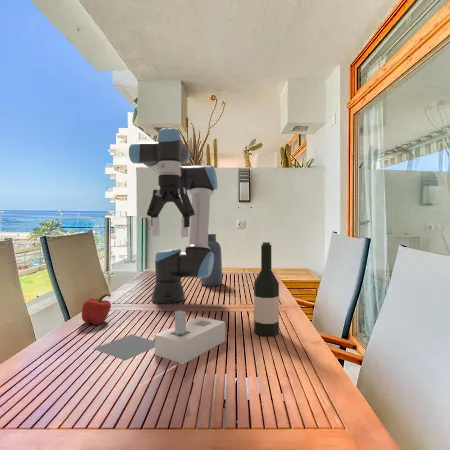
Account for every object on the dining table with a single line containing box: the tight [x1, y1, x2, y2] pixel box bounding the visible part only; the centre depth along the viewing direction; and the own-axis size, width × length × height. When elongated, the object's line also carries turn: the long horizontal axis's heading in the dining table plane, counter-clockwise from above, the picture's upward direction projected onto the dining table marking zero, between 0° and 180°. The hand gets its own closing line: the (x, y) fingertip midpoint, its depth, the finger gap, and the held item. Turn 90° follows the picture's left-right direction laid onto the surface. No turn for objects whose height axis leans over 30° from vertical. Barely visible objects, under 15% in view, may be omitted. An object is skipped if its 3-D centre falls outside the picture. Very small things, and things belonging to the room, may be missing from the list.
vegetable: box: [81, 293, 112, 326], centre depth 122 cm, size 11×10×10 cm
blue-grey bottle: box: [200, 233, 223, 287], centre depth 190 cm, size 12×12×28 cm
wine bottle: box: [253, 241, 280, 338], centre depth 111 cm, size 8×8×30 cm
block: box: [154, 316, 226, 366], centre depth 98 cm, size 20×10×6 cm, turn 146°
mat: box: [93, 334, 155, 361], centre depth 99 cm, size 14×14×1 cm
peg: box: [174, 309, 187, 337], centre depth 94 cm, size 3×3×12 cm
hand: (169, 236), depth 116 cm, fingers open, 13 cm apart
